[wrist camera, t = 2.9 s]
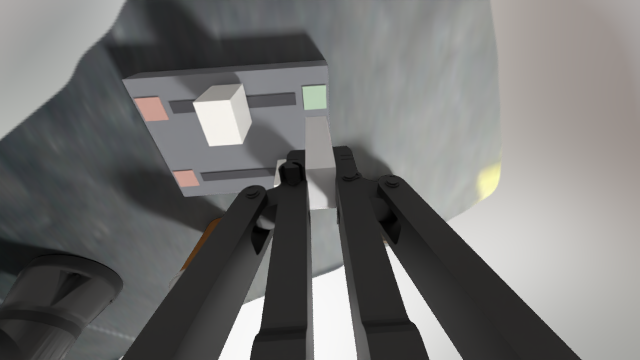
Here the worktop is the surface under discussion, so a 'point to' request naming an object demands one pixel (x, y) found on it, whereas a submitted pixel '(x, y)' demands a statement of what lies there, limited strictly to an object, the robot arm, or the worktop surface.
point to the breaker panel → (262, 137)
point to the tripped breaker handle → (224, 114)
